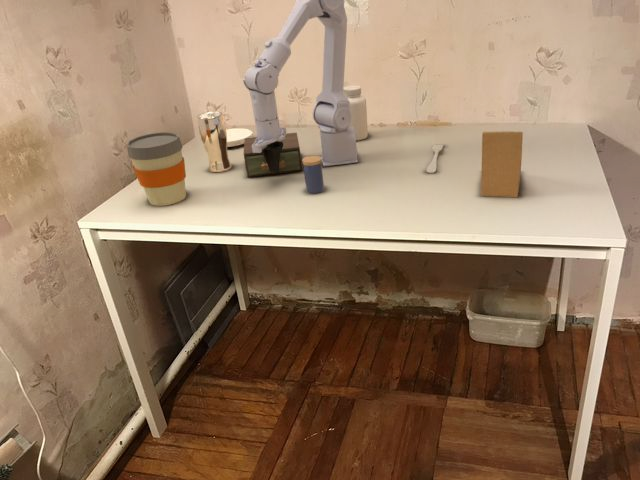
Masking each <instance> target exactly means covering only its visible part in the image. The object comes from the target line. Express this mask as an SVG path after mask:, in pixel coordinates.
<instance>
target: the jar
mask: <svg viewBox="0 0 640 480" xmlns="http://www.w3.org/2000/svg"><path fill="white" fill-rule="evenodd" d="M301 163H302V169H303V175H304V183H305V191H306V193H308V194H312V195H315V194H320V193H323V192H324V191H325V184H324V174H323V164H322V160H321V156H319V155H309V156H305V157H303V158H301Z"/></svg>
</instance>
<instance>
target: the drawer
mask: <svg viewBox="0 0 640 480" xmlns="http://www.w3.org/2000/svg"><path fill="white" fill-rule="evenodd" d="M246 159H247V165H248V170H249V175H258V174H266V173H274V172H270V170H269V167H268V164H267V162H266V160H265V158H264V156H263V155H262V154H260V155H252V156H248V157H246ZM299 169H300V164H299V157H298V151H295V150H294V151H286V152H281V154H280V160H279V171H278V172H283V171H291V170H299Z"/></svg>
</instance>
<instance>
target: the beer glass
mask: <svg viewBox="0 0 640 480" xmlns="http://www.w3.org/2000/svg"><path fill="white" fill-rule="evenodd" d="M197 123H198V124H197V125H198V129H199V135H200V139H201V141H202V144H203V147H204V149H205V151H206V154H207V157H208V169H209V172H211V173H222V172H226V171H229V170H231V169H232V164H231V161H230V158H229V153H228V152H229V151H228V147H227V132H226V130H227V127H226V122H225V119H224V114H223V112H222V111H207V112H206V111H205V112H202V113H200V114H198V115H197Z"/></svg>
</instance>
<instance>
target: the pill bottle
mask: <svg viewBox="0 0 640 480" xmlns="http://www.w3.org/2000/svg"><path fill="white" fill-rule="evenodd" d="M343 93H344V94H345V96H346V97H347V99H348V100H349V102H350V111H351V115H352V118H351V123H350V125H349V126H348V127H354V130H355V136H356V142H358V141H362V140H366V139H367V138H368V136H369V129H368V128H369V127H368V110H367V109H368V108H367V99H366V97H365V96H363V95H362V87H361V86H360V85H347V86H343Z"/></svg>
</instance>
